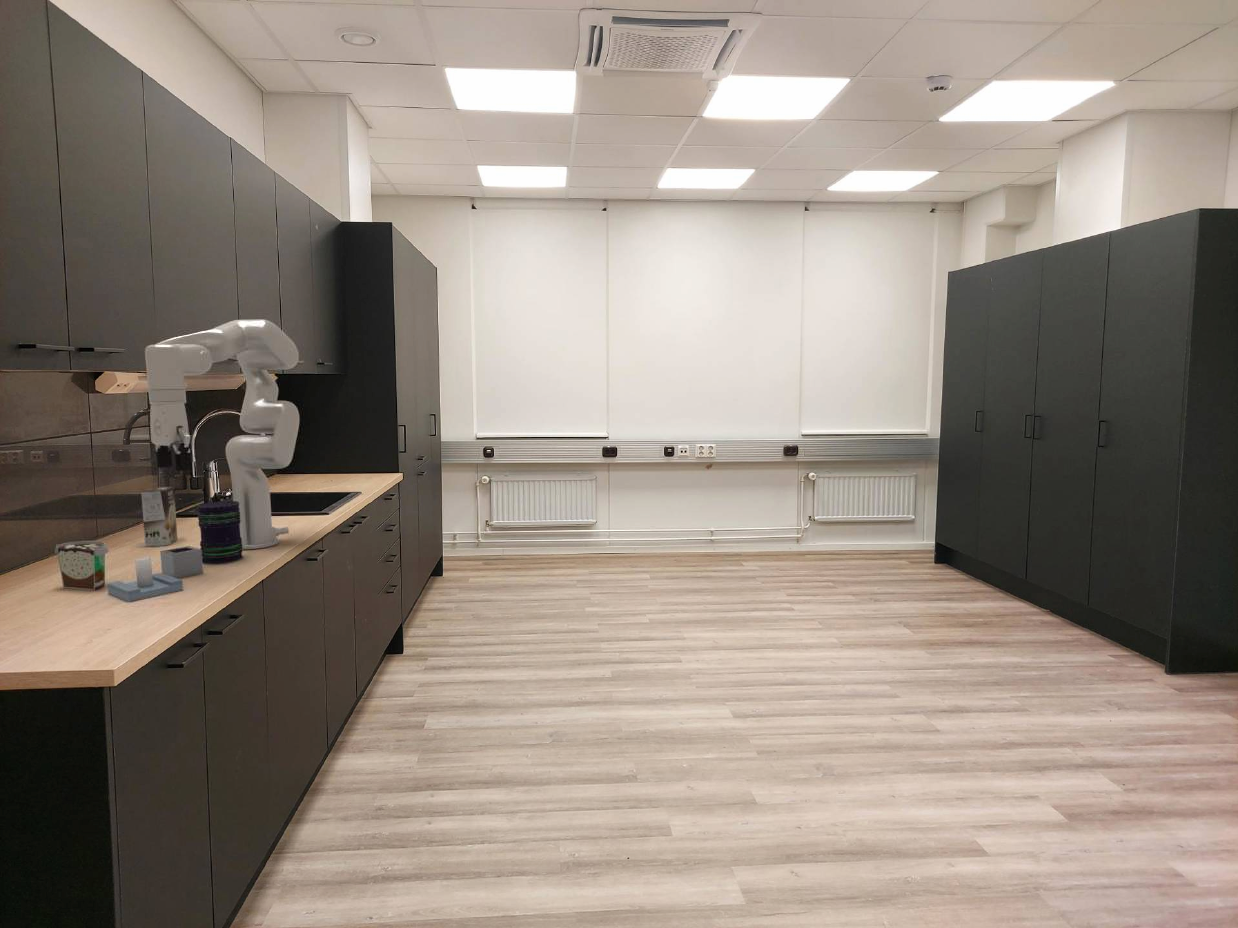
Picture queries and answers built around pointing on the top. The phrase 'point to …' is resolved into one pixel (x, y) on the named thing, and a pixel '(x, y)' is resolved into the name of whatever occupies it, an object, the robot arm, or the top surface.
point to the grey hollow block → (181, 562)
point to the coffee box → (159, 516)
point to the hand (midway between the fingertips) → (174, 468)
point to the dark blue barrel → (220, 532)
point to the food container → (82, 564)
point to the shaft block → (145, 583)
